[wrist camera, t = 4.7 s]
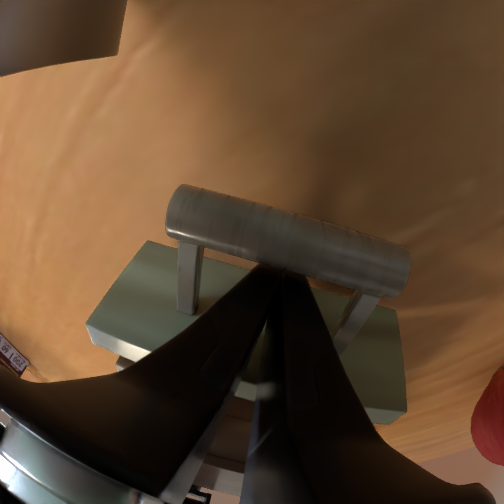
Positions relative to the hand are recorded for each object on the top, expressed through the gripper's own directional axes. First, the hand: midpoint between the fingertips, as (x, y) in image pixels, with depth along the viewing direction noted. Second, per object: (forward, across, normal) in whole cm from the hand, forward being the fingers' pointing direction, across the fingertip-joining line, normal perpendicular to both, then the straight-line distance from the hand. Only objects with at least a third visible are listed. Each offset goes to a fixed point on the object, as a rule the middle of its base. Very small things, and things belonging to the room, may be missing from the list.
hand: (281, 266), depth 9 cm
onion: (+3, -17, +6) cm, 18 cm away
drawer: (+2, 0, +7) cm, 7 cm away
